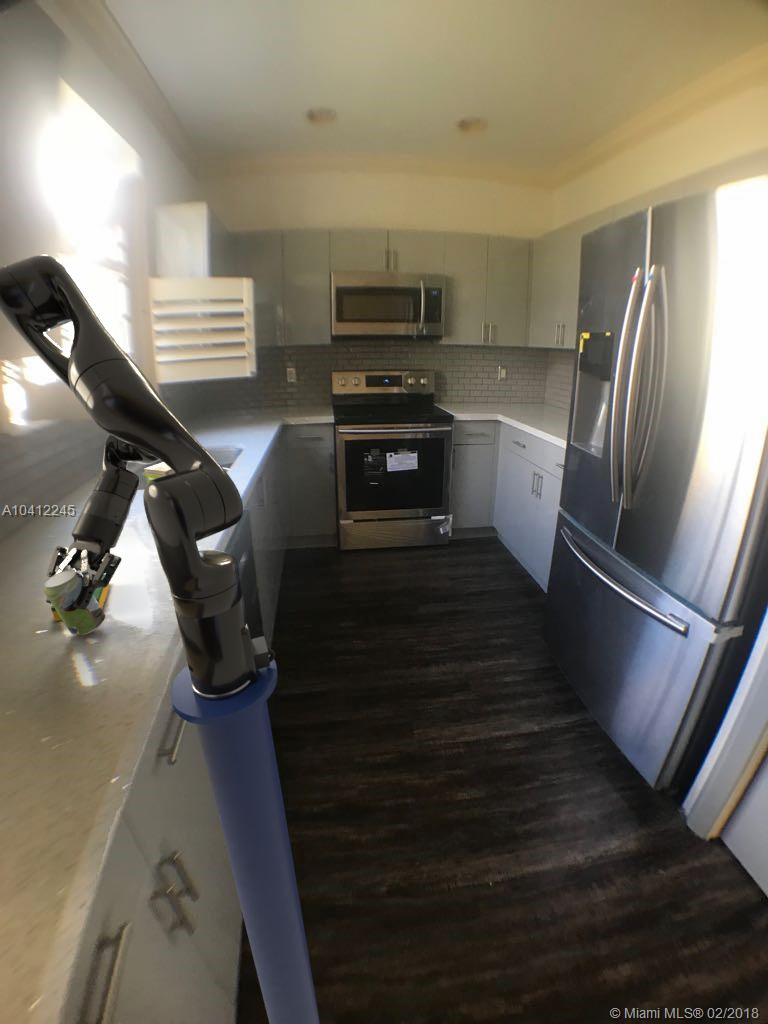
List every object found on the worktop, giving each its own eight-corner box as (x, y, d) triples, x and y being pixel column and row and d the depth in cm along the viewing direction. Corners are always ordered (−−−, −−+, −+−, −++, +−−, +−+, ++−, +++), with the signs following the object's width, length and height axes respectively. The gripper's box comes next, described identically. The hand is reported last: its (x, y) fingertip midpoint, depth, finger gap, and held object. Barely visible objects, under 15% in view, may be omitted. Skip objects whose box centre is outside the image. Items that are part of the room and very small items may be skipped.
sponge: (109, 585, 102) (106, 573, 101) (101, 611, 92) (97, 598, 91) (68, 593, 99) (64, 581, 98) (55, 621, 89) (50, 608, 88)
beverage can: (113, 624, 87) (96, 569, 82) (72, 646, 81) (51, 588, 77) (96, 614, 90) (78, 561, 85) (56, 635, 84) (34, 579, 80)
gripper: (58, 508, 87) (16, 596, 81) (117, 515, 82) (78, 607, 76) (90, 523, 93) (53, 604, 87) (146, 529, 89) (112, 616, 83)
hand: (65, 605), depth 82 cm, fingers closed on beverage can, 5 cm apart
